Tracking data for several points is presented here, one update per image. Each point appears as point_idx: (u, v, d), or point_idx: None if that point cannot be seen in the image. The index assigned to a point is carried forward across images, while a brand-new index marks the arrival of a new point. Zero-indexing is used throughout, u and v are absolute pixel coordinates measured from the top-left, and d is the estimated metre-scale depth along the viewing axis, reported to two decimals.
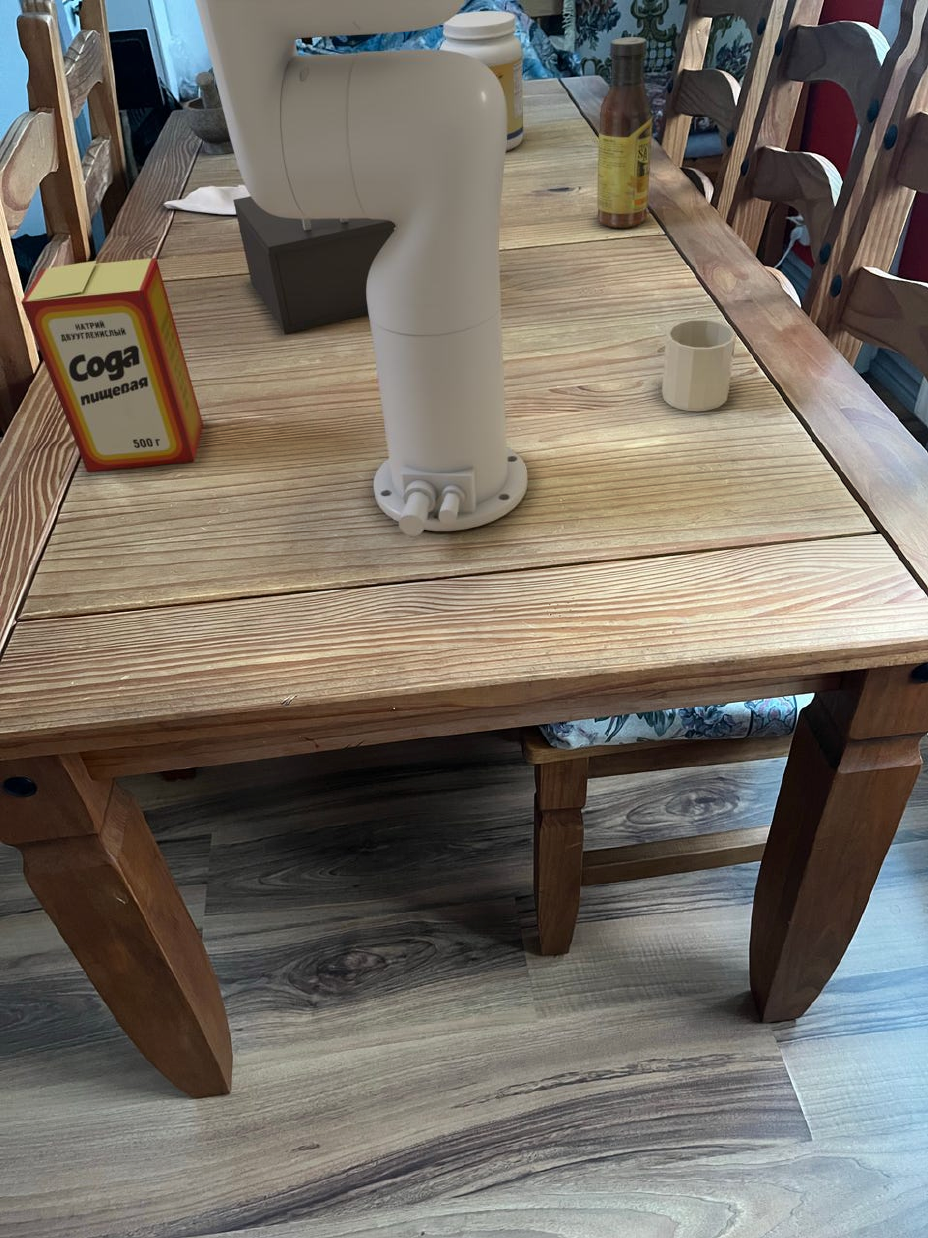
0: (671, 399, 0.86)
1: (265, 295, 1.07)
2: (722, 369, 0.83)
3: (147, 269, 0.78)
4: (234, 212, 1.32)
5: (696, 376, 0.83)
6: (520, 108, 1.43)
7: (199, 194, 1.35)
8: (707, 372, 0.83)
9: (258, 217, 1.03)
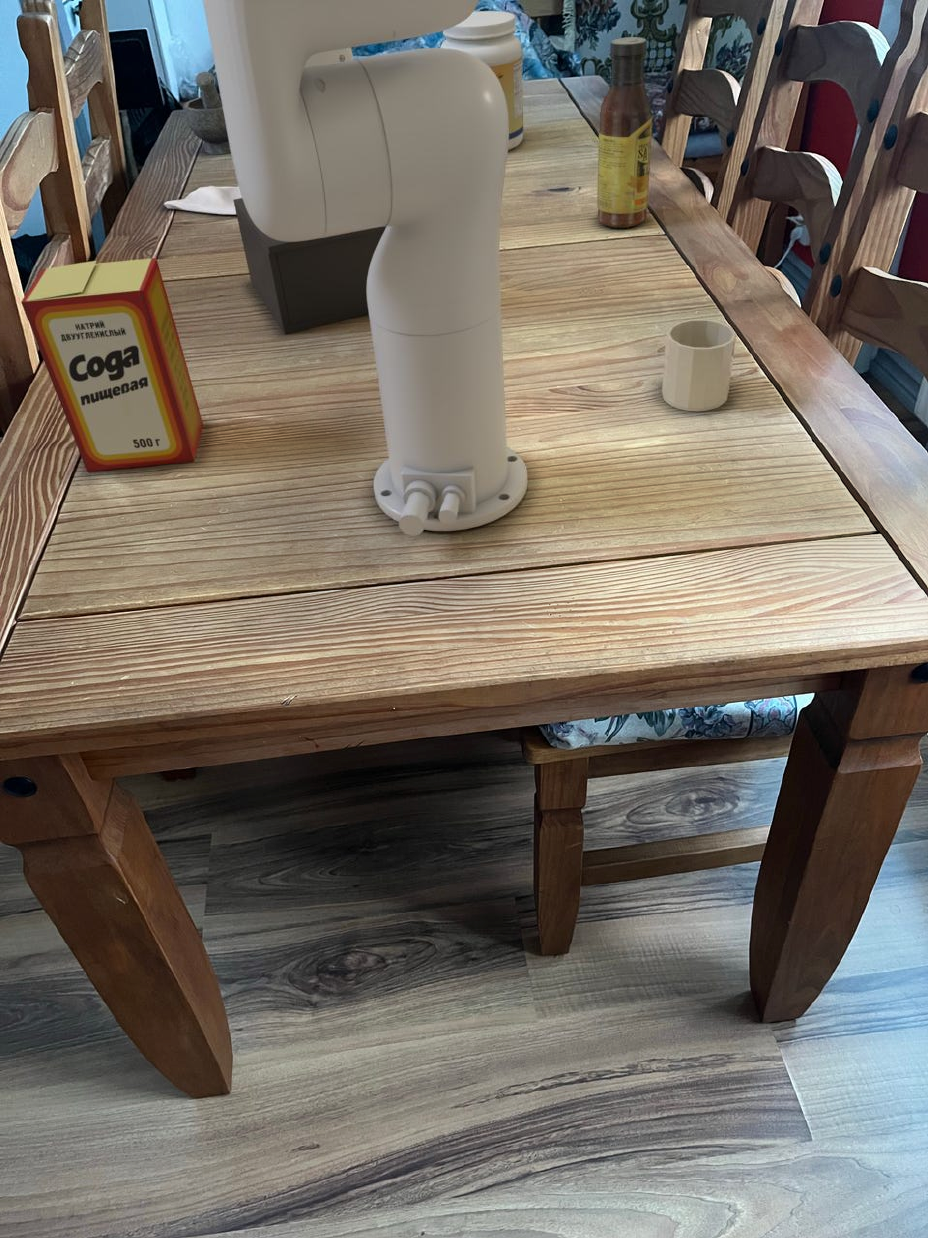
0: (671, 399, 0.86)
1: (265, 295, 1.07)
2: (722, 369, 0.83)
3: (147, 269, 0.78)
4: (234, 212, 1.32)
5: (696, 376, 0.83)
6: (520, 108, 1.43)
7: (199, 194, 1.35)
8: (707, 372, 0.83)
9: None
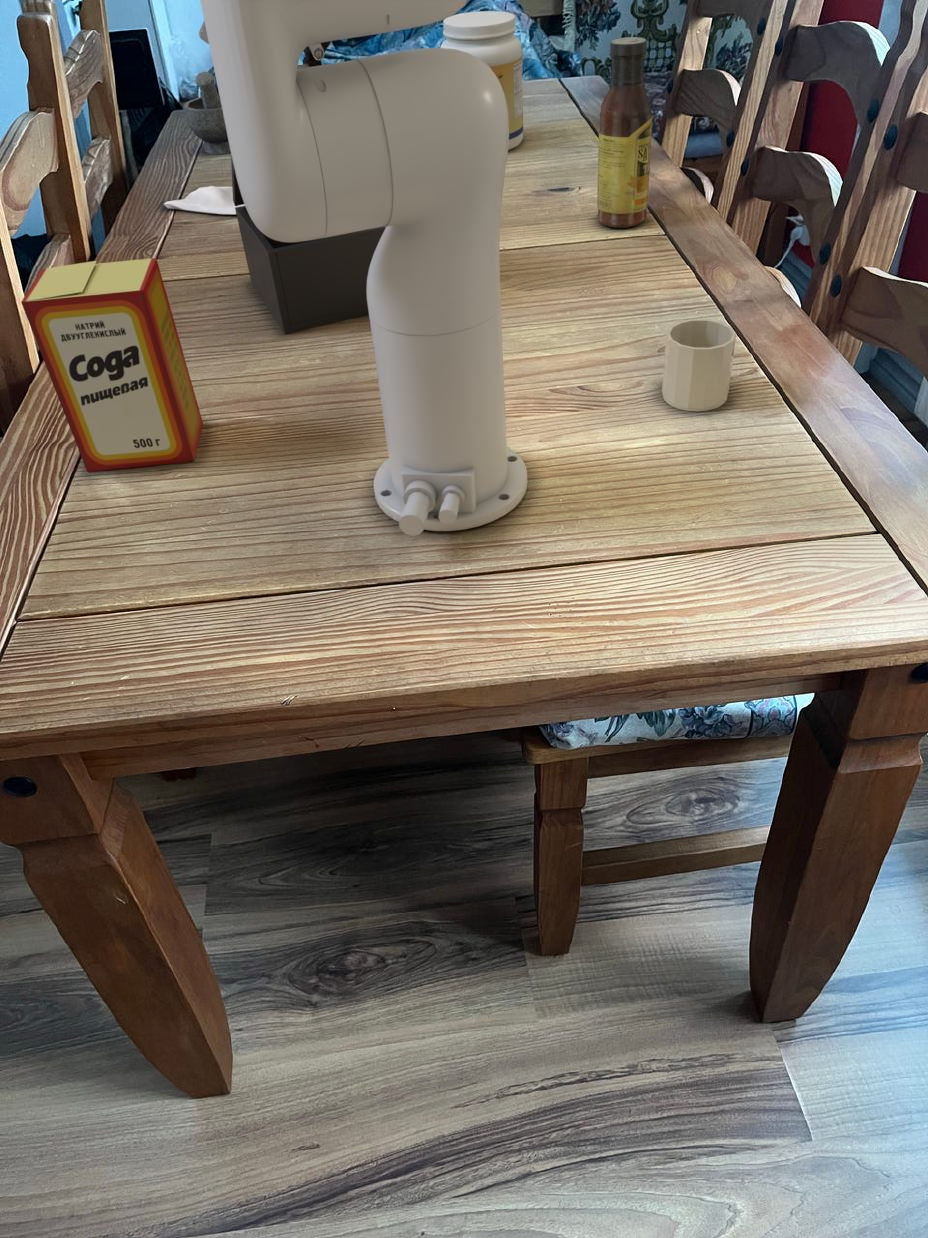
0: (671, 399, 0.86)
1: (265, 295, 1.07)
2: (722, 369, 0.83)
3: (147, 269, 0.78)
4: (234, 212, 1.32)
5: (696, 376, 0.83)
6: (520, 108, 1.43)
7: (199, 194, 1.35)
8: (707, 372, 0.83)
9: None
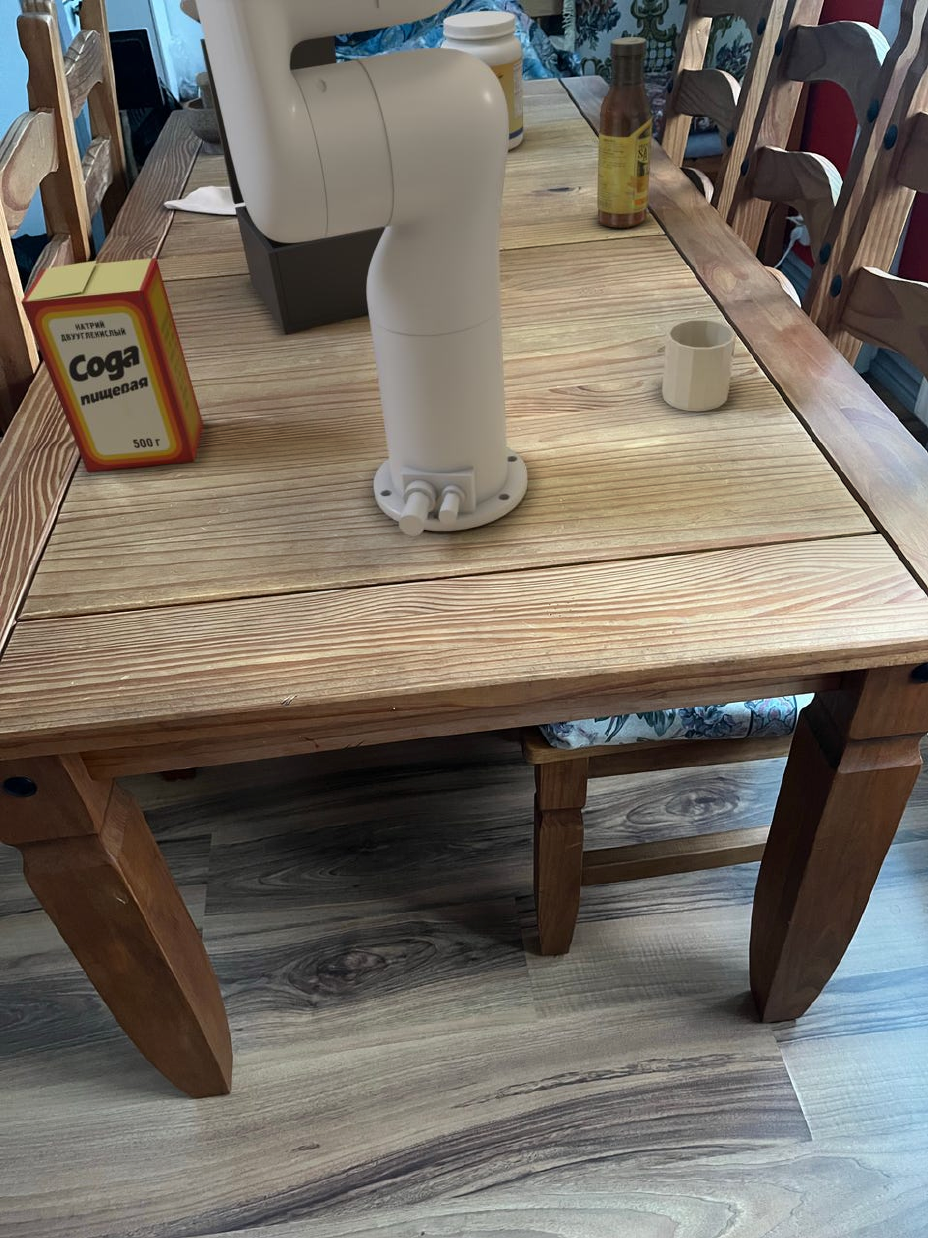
0: (671, 399, 0.86)
1: (265, 295, 1.07)
2: (722, 369, 0.83)
3: (147, 269, 0.78)
4: (234, 212, 1.32)
5: (696, 376, 0.83)
6: (520, 108, 1.43)
7: (199, 194, 1.35)
8: (707, 372, 0.83)
9: None
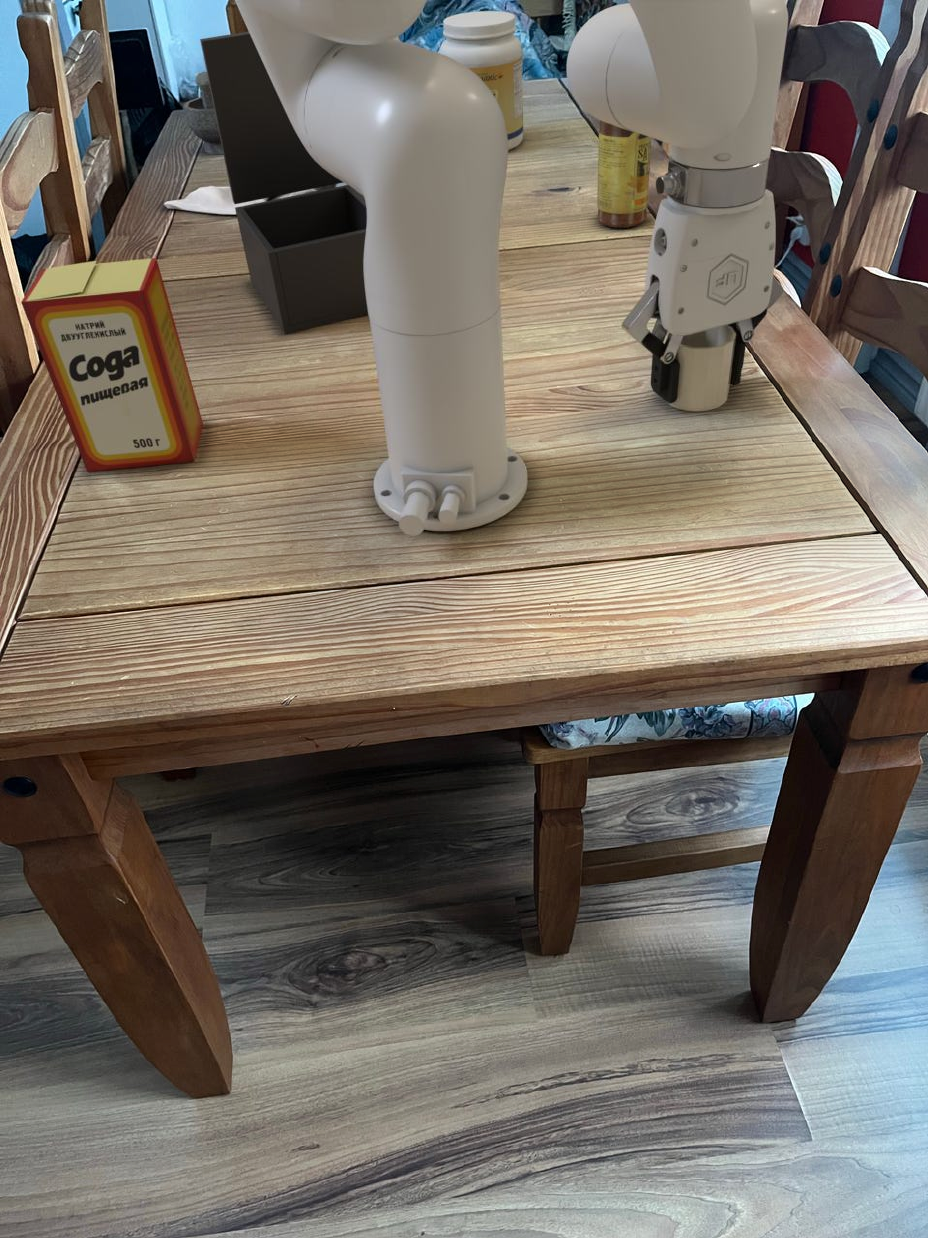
0: None
1: (265, 295, 1.07)
2: (722, 369, 0.83)
3: (147, 269, 0.78)
4: (234, 212, 1.32)
5: (696, 376, 0.83)
6: (520, 108, 1.43)
7: (199, 194, 1.35)
8: (707, 372, 0.83)
9: None
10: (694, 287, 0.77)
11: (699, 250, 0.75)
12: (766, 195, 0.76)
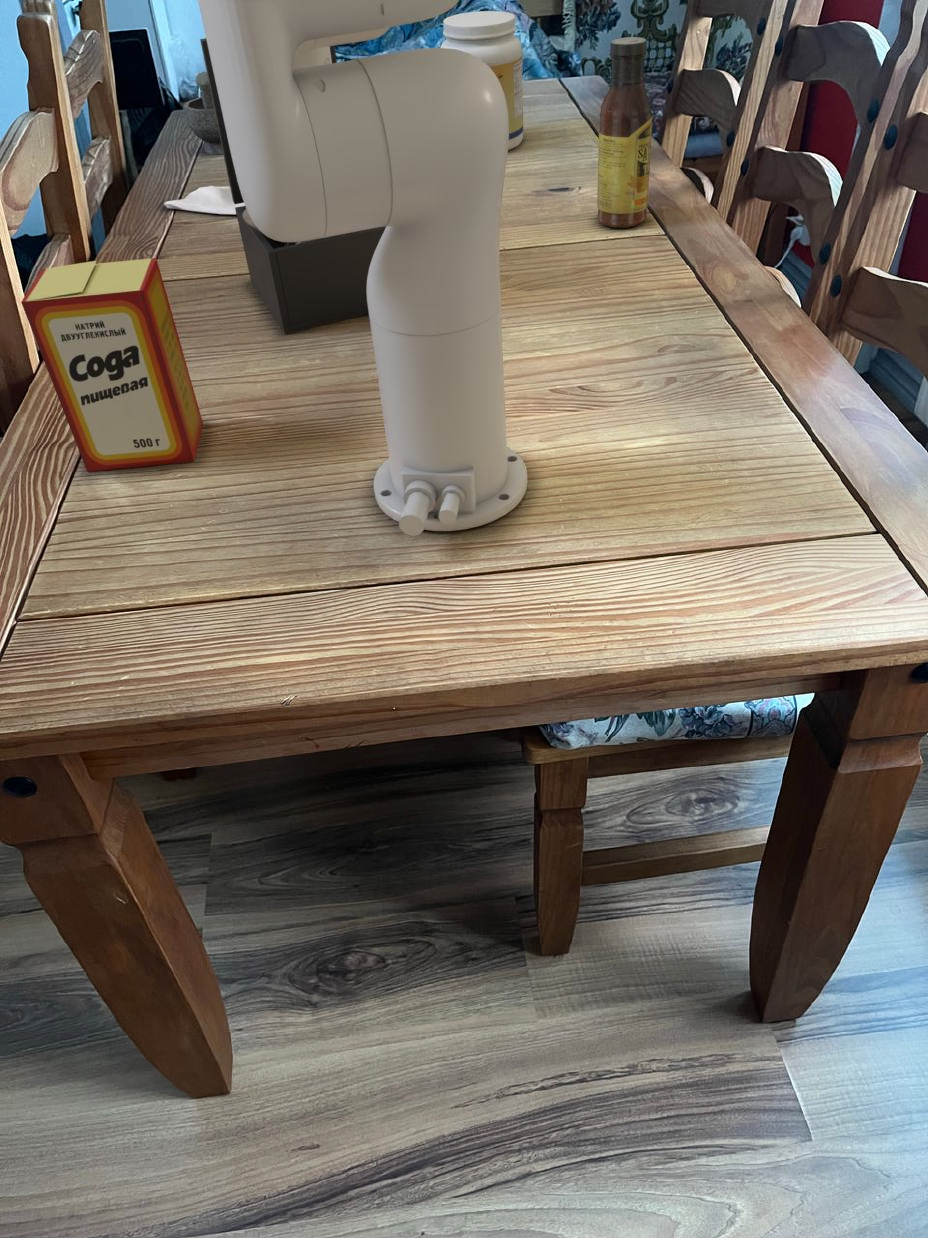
0: None
1: (265, 295, 1.07)
2: None
3: (147, 269, 0.78)
4: (234, 212, 1.32)
5: None
6: (520, 108, 1.43)
7: (199, 194, 1.35)
8: None
9: None
10: None
11: None
12: None
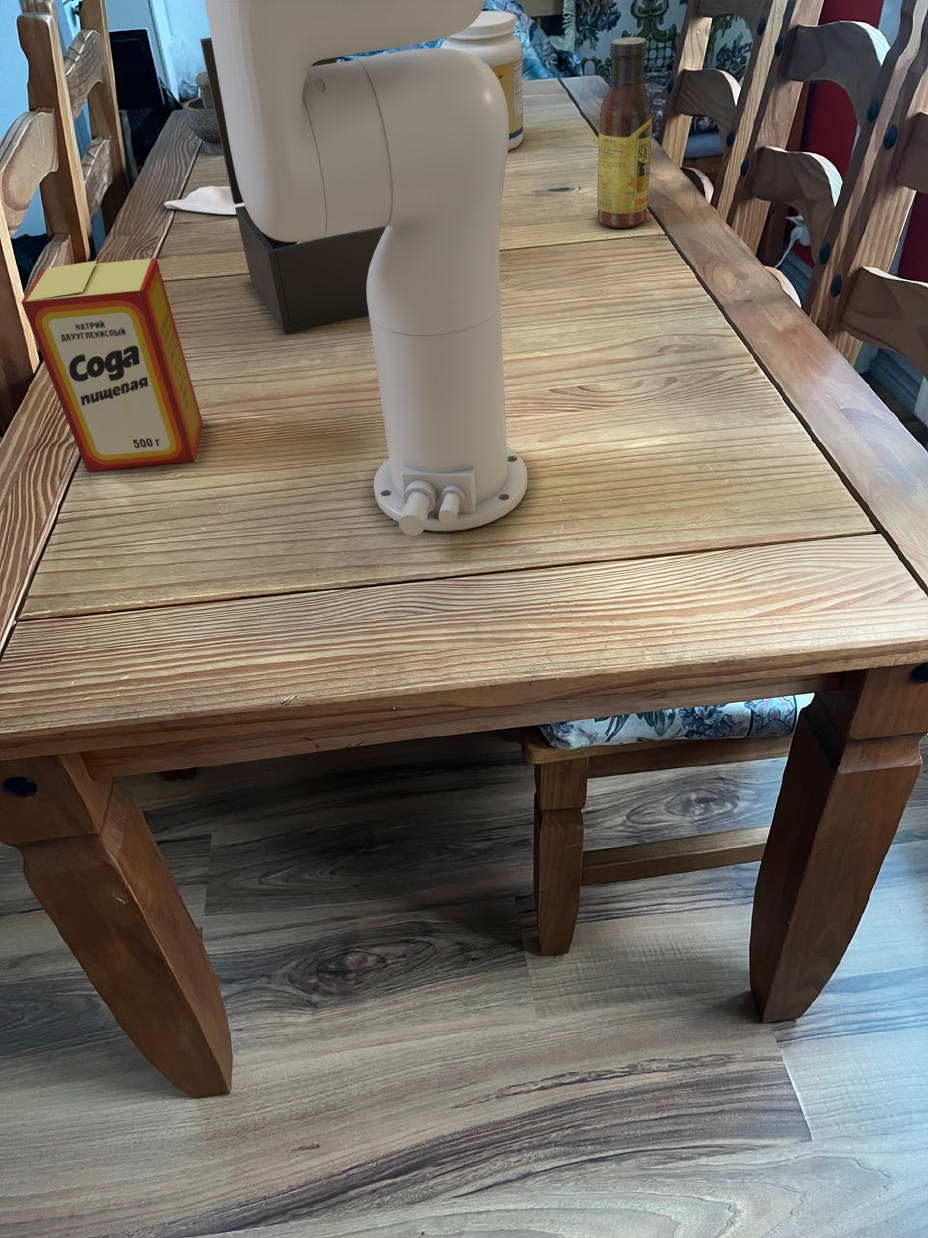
0: None
1: (265, 295, 1.07)
2: None
3: (147, 269, 0.78)
4: (234, 212, 1.32)
5: None
6: (520, 108, 1.43)
7: (199, 194, 1.35)
8: None
9: None
10: None
11: None
12: None
